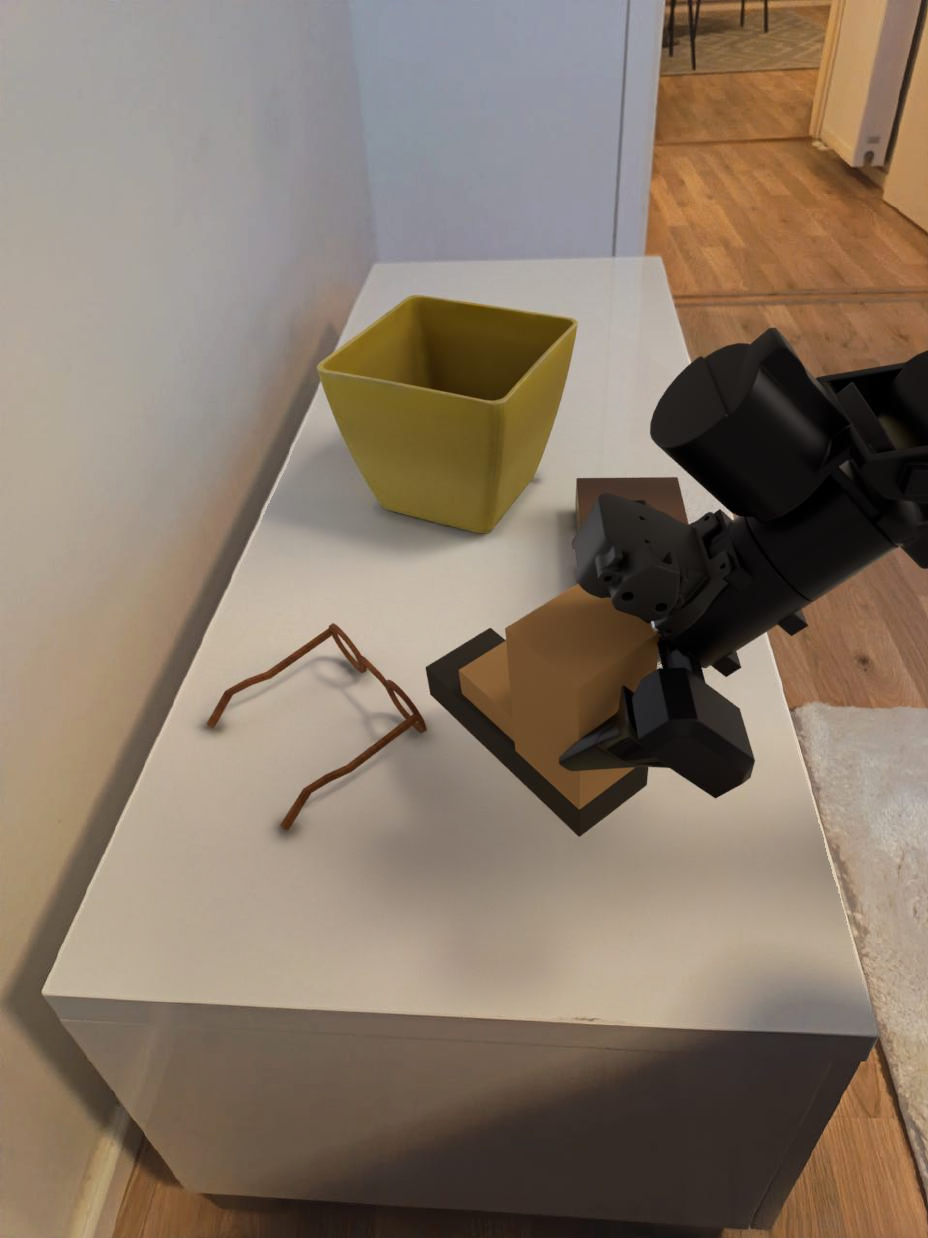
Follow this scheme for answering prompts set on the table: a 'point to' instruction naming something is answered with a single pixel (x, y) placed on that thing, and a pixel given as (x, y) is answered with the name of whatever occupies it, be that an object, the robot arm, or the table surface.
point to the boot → (551, 697)
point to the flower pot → (450, 405)
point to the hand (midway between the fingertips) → (558, 707)
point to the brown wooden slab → (632, 494)
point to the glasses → (361, 667)
